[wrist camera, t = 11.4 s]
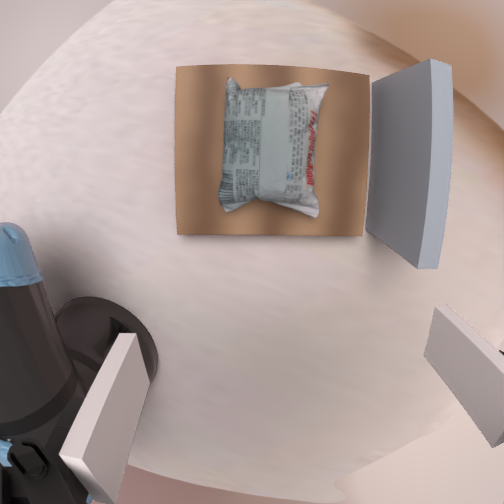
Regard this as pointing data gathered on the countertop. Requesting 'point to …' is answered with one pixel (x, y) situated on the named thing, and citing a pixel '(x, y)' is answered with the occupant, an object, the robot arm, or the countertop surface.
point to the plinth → (326, 153)
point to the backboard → (411, 161)
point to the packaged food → (270, 146)
